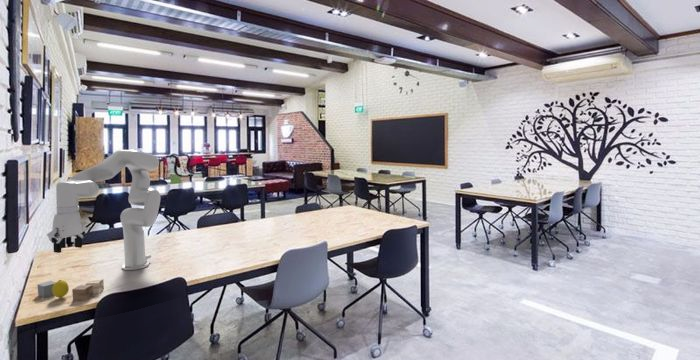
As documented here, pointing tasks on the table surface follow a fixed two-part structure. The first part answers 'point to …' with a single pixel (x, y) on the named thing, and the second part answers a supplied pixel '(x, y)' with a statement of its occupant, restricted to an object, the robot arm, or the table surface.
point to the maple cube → (96, 285)
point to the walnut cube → (82, 292)
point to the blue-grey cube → (45, 289)
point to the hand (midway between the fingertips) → (68, 249)
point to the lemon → (60, 288)
